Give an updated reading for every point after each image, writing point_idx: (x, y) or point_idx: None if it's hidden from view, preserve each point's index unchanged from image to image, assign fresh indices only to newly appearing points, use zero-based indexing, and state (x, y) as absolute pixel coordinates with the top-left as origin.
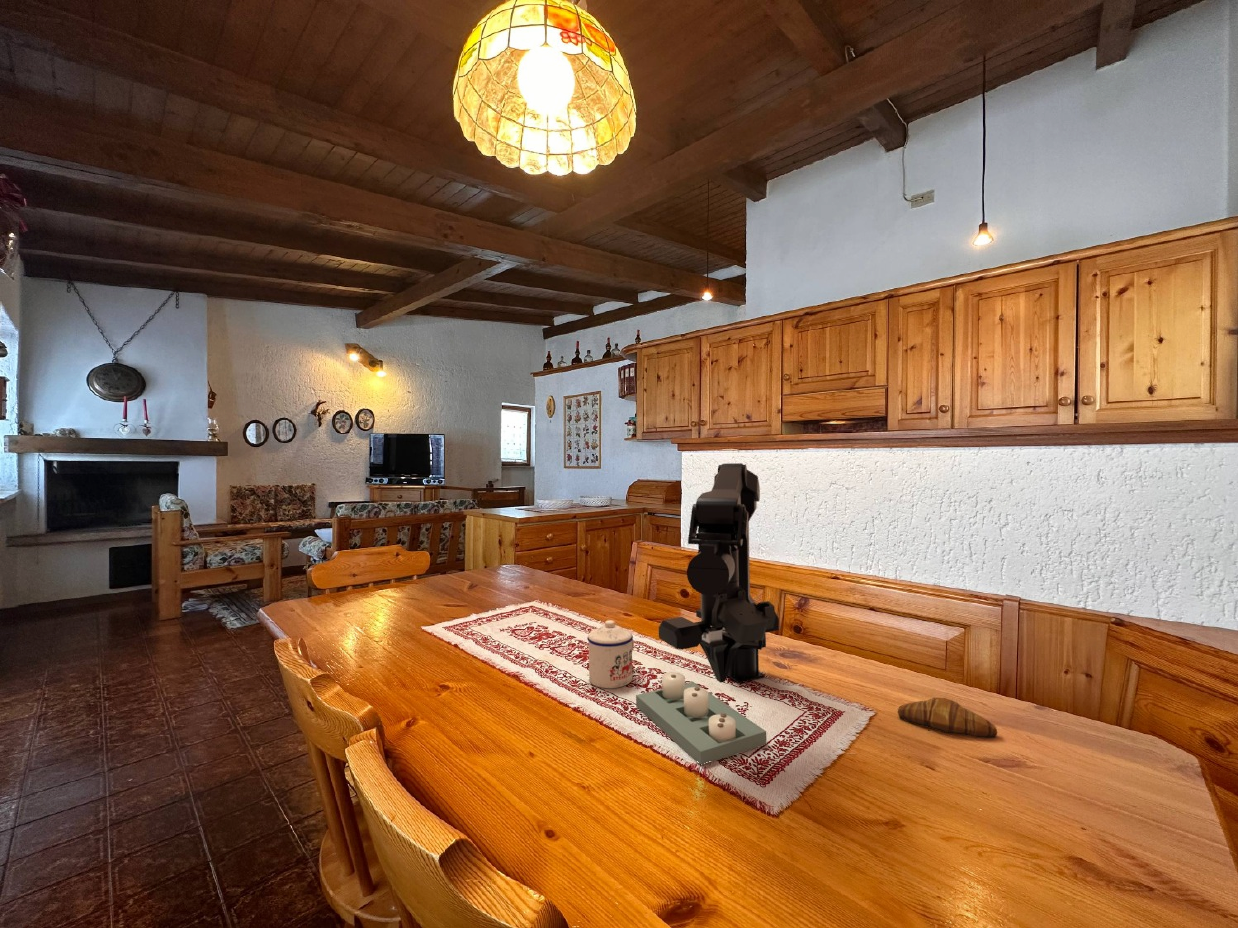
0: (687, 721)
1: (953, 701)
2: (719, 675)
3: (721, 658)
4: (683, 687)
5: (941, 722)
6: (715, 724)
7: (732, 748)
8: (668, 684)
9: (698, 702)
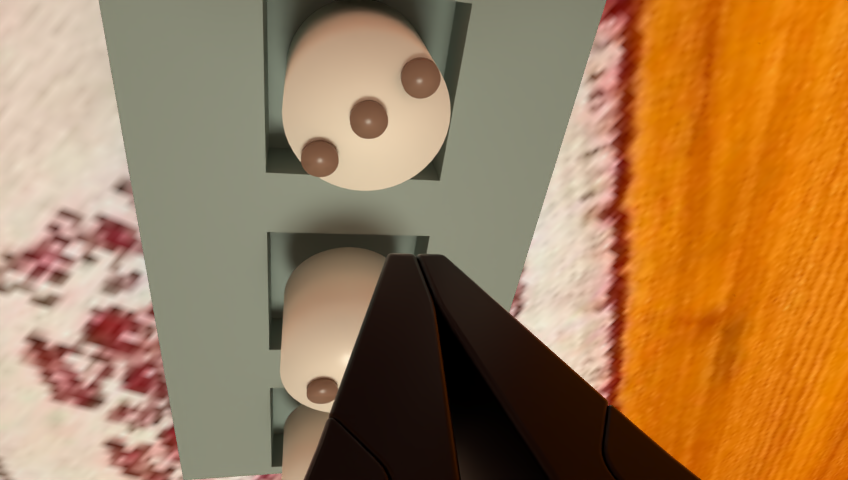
0: (442, 248)
1: None
2: (490, 300)
3: (603, 472)
4: (313, 439)
5: None
6: (433, 105)
7: None
8: None
9: None
